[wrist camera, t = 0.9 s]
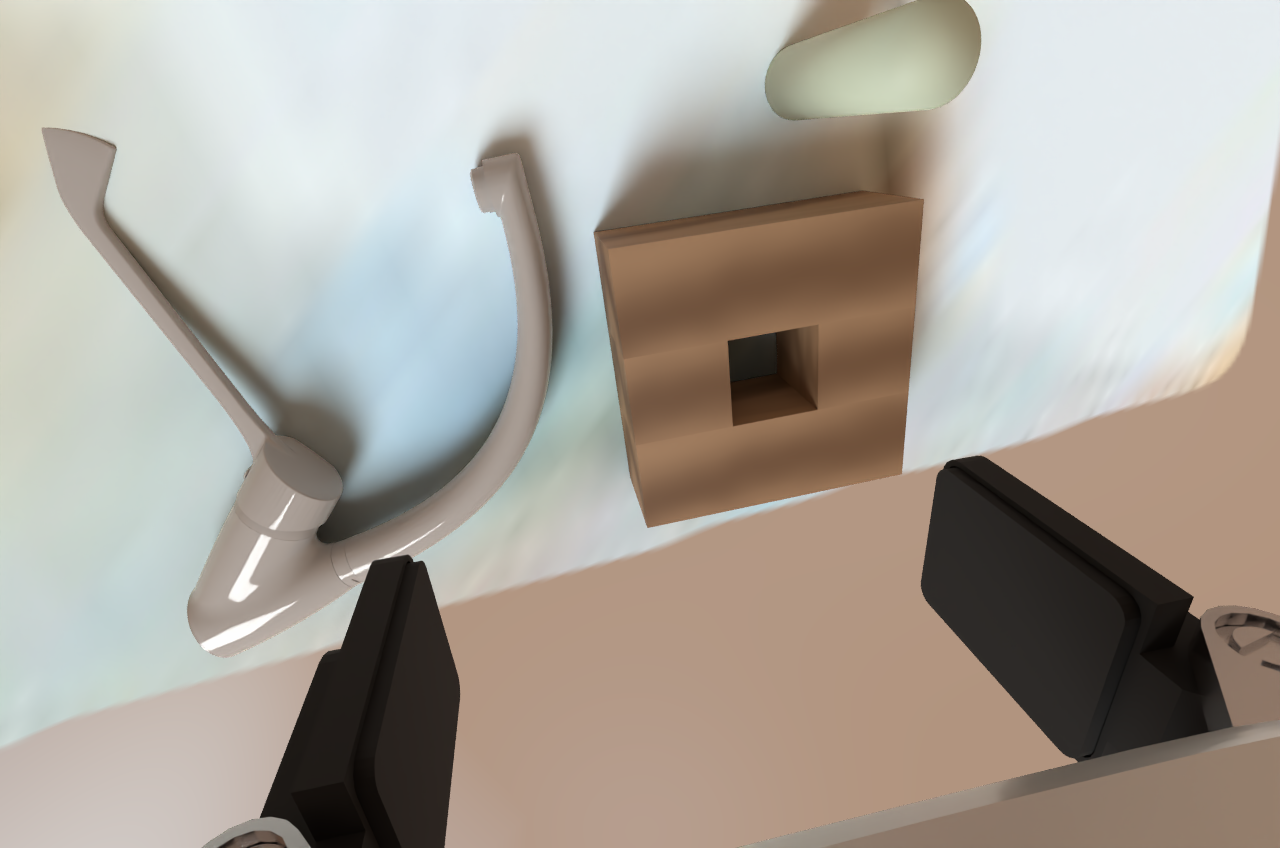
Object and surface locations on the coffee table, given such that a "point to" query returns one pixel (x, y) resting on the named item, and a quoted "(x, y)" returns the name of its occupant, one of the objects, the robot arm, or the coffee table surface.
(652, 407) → the socket block
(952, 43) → the peg
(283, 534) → the faucet
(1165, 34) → the coffee table surface
